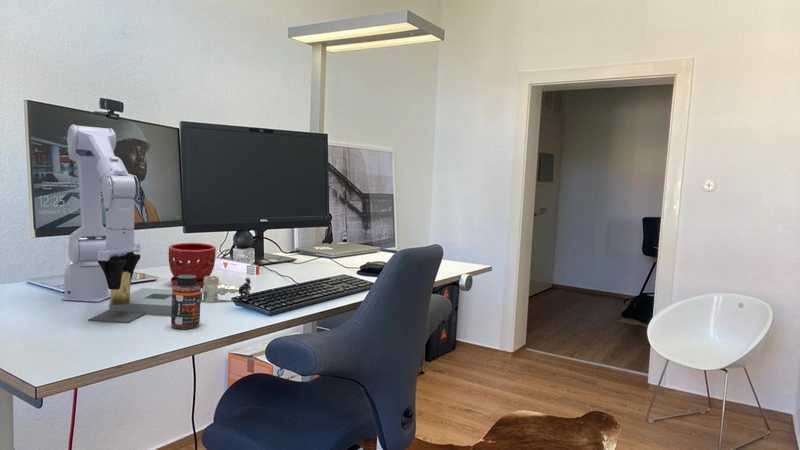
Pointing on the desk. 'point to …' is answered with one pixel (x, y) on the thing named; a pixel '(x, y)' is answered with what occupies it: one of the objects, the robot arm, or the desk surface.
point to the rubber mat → (116, 316)
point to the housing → (148, 302)
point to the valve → (221, 289)
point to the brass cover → (121, 291)
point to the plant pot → (192, 260)
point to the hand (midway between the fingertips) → (119, 287)
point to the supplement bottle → (186, 302)
